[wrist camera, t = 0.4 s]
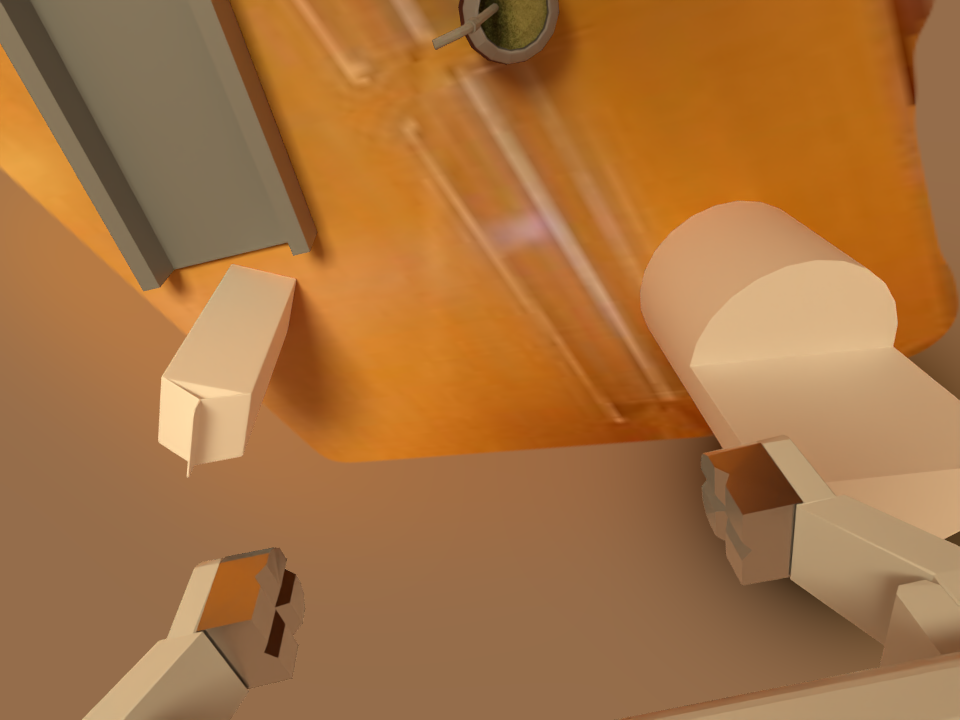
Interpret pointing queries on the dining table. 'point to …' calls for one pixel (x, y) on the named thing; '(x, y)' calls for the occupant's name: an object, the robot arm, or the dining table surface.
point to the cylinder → (804, 359)
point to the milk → (225, 367)
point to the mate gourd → (504, 28)
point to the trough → (161, 126)
